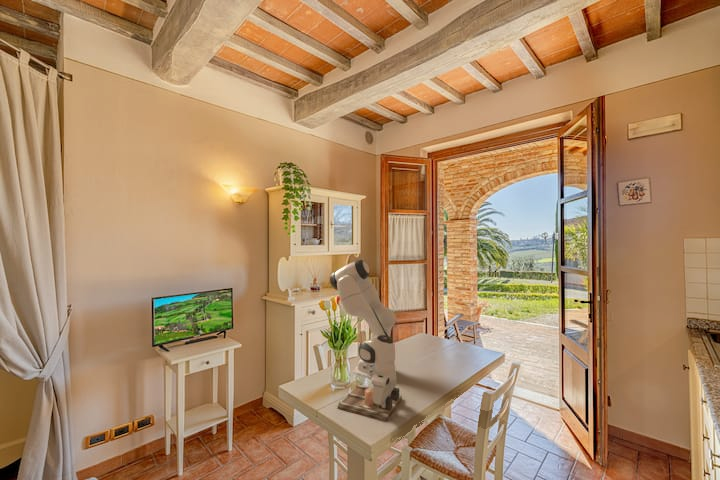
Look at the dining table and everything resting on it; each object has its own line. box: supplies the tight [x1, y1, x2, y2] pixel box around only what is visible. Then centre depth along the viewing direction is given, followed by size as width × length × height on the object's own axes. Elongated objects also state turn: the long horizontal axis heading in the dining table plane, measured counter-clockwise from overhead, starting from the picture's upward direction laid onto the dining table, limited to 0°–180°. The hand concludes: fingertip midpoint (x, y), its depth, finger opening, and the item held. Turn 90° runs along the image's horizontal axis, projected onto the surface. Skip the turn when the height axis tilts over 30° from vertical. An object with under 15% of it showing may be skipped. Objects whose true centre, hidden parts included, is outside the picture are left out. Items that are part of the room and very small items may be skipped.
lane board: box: [337, 384, 403, 422], centre depth 145 cm, size 24×20×2 cm
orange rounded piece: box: [365, 387, 376, 407], centre depth 140 cm, size 5×5×6 cm
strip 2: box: [390, 387, 401, 405], centre depth 147 cm, size 14×7×6 cm, turn 64°
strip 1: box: [359, 396, 394, 415], centre depth 139 cm, size 14×7×6 cm, turn 64°
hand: (385, 404), depth 137 cm, fingers closed on strip 1, 3 cm apart
